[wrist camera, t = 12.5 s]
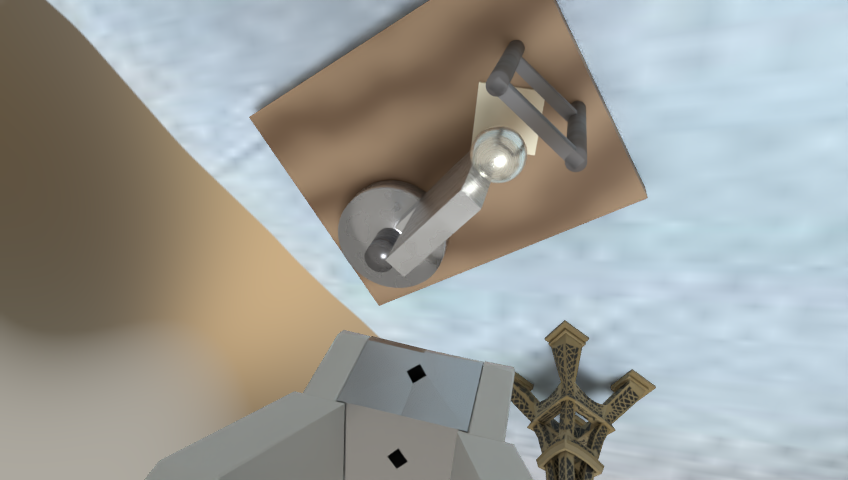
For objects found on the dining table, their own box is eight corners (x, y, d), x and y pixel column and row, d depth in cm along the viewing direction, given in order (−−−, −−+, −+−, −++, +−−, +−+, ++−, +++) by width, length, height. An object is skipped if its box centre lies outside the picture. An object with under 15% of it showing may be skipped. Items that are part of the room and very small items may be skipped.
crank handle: (483, 60, 41) (450, 105, 31) (571, 148, 43) (567, 219, 32) (326, 226, 51) (261, 302, 41) (402, 293, 52) (358, 383, 42)
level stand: (260, 110, 50) (169, 163, 39) (526, -62, 39) (504, -56, 28) (385, 294, 56) (337, 384, 45) (645, 187, 45) (665, 272, 34)
